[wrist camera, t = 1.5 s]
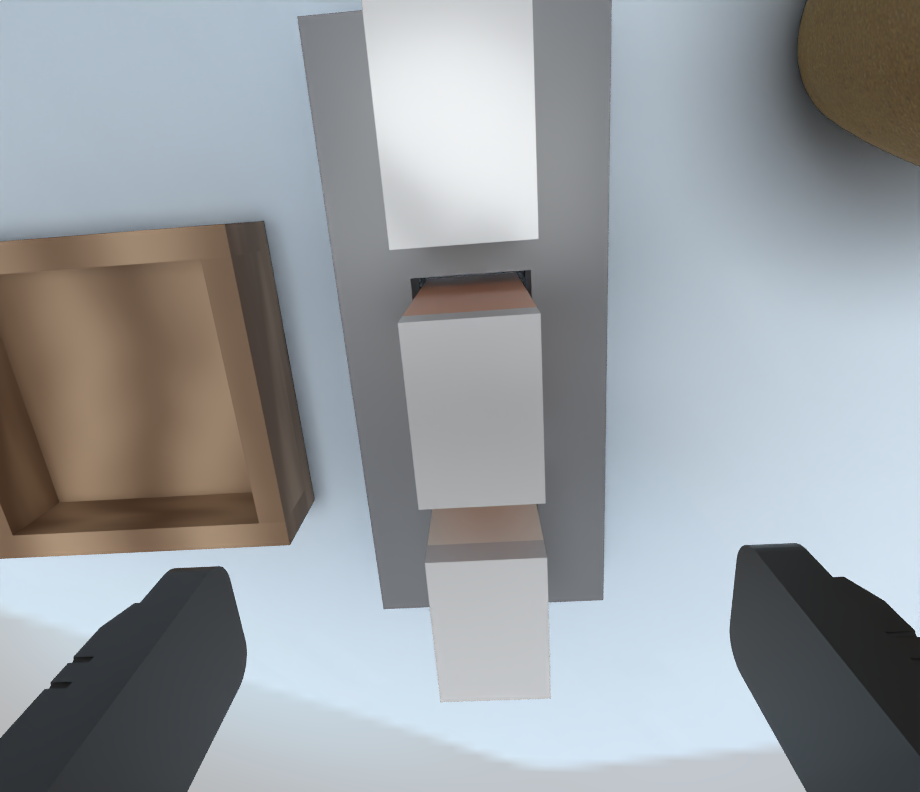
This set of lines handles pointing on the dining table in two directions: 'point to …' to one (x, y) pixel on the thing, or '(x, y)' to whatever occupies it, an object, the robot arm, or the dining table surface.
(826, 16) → the plant pot
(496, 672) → the block
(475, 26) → the block
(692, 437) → the dining table surface
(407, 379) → the block
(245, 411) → the tray
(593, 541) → the frame
